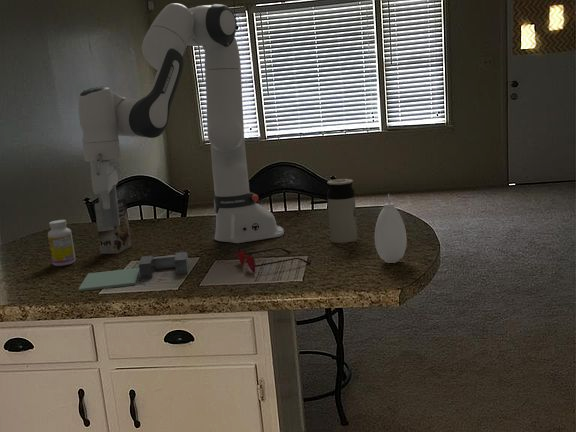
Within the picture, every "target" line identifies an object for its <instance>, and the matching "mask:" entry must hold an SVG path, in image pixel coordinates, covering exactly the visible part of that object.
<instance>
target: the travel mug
mask: <svg viewBox="0 0 576 432" xmlns="http://www.w3.org/2000/svg"><path fill="white" fill-rule="evenodd" d="M353 182H354V180H353V179H349V178H339V179H338V178H337V179H331V180H328V181H327V185H328V190H327V192H326V194H327V209H328V222H329V223H328V224H329V235H330V236H329V238H330V241H331V242H332V243H334V242H335V243H334V244H340V243H341V244H348V243H347V242H351V243H354V242H355V241H357V240H358V228H357V227H358V226H357V216H356V215H357V214H356V198H355V196H356V194H355V190H354V188H353ZM353 241H354V242H353Z"/></svg>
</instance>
